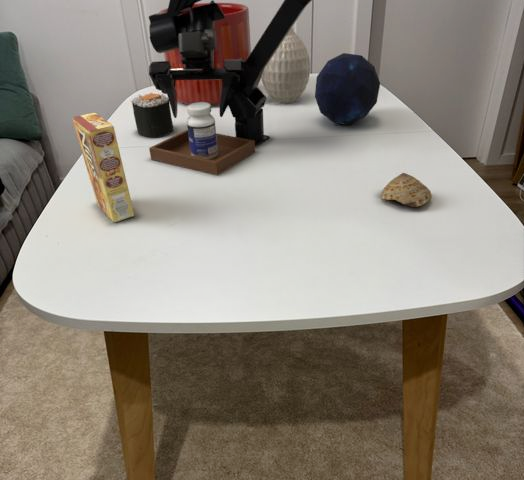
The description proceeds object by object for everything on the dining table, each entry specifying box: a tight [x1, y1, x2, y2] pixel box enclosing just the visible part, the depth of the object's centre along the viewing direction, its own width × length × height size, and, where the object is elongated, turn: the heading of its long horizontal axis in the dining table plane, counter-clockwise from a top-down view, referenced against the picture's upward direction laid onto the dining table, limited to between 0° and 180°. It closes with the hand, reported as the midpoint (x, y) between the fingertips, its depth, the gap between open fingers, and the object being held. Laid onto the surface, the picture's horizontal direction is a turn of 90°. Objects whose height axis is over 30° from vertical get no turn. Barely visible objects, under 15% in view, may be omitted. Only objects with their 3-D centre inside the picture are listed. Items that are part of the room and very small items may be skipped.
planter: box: [158, 2, 252, 107], centre depth 135 cm, size 23×23×20 cm
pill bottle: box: [186, 102, 218, 159], centre depth 103 cm, size 6×6×10 cm
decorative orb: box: [314, 52, 381, 126], centre depth 116 cm, size 14×15×15 cm
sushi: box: [130, 92, 174, 139], centre depth 118 cm, size 8×8×8 cm
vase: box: [260, 27, 311, 104], centre depth 130 cm, size 13×13×17 cm
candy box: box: [72, 112, 135, 223], centre depth 85 cm, size 9×4×15 cm, turn 33°
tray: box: [148, 129, 256, 176], centre depth 107 cm, size 14×18×2 cm
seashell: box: [380, 172, 433, 208], centre depth 88 cm, size 8×6×8 cm
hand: (197, 116), depth 100 cm, fingers open, 9 cm apart
